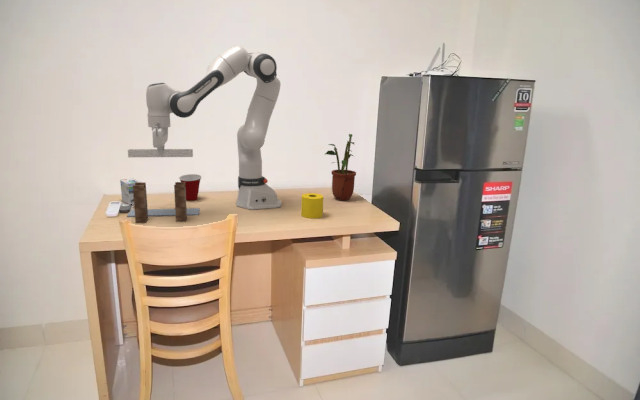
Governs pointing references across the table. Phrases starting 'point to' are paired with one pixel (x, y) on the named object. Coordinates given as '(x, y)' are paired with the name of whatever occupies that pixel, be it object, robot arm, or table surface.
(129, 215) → the slate mat
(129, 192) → the light bulb box
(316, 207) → the yellow hollow cylinder
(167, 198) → the table surface
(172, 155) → the rail
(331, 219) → the table surface
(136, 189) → the hook posts
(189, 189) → the plastic cup
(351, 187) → the potted plant
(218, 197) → the table surface
